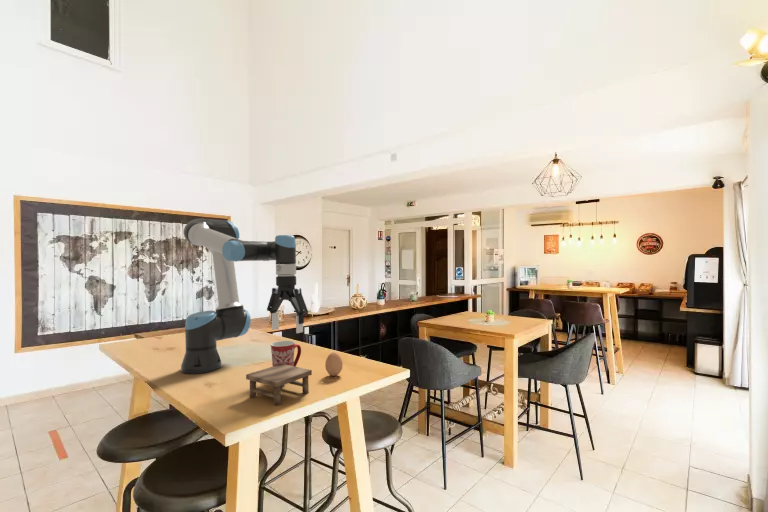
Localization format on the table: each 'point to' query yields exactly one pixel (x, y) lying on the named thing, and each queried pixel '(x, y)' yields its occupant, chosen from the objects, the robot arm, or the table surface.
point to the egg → (333, 364)
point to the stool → (278, 380)
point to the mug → (284, 353)
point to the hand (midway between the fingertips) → (287, 331)
